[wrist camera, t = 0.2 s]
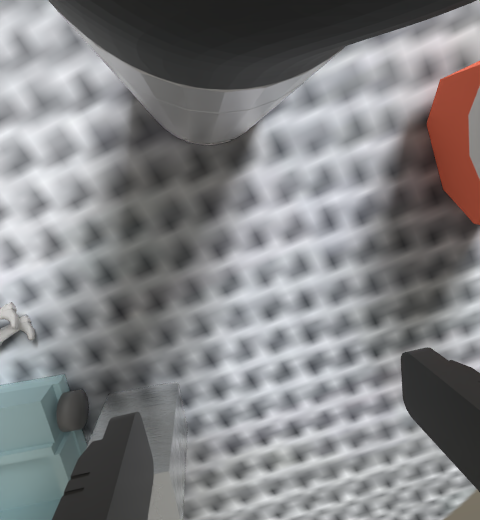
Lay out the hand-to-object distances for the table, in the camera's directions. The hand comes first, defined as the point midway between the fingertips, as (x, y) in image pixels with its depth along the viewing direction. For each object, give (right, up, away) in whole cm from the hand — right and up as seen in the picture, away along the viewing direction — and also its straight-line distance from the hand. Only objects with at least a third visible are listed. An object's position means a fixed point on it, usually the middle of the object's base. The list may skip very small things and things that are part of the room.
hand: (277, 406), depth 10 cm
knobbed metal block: (-9, -9, +19) cm, 23 cm away
